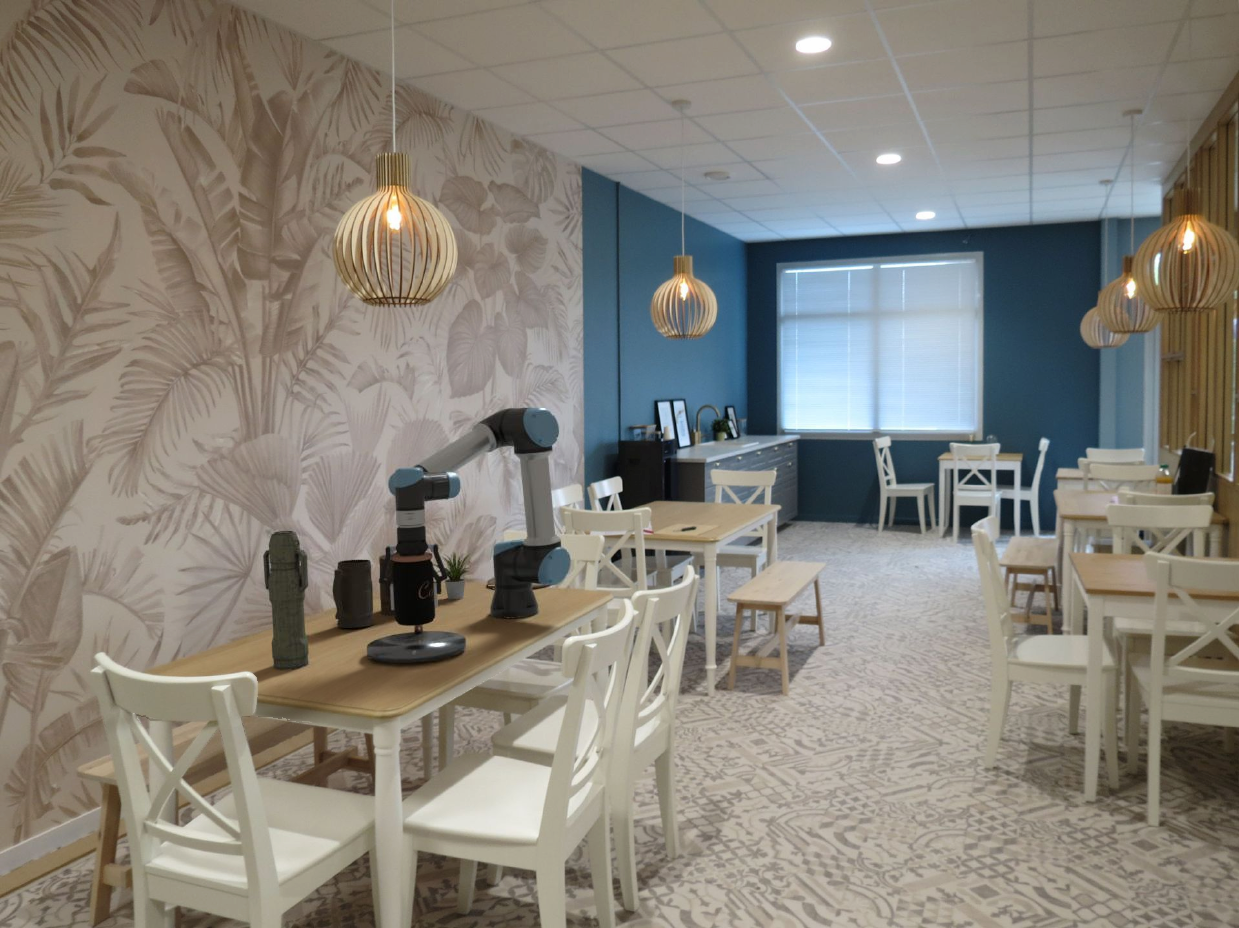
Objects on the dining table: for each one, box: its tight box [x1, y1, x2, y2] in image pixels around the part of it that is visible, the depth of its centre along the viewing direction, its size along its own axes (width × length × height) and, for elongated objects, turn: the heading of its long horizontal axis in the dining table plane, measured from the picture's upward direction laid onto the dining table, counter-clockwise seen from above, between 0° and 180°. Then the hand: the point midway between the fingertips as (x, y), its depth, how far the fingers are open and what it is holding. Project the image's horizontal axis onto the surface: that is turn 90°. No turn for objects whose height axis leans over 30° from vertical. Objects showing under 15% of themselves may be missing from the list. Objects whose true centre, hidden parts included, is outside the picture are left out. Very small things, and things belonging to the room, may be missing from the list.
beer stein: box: [332, 559, 374, 629], centre depth 298 cm, size 15×11×20 cm
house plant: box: [433, 552, 475, 601], centre depth 339 cm, size 14×14×16 cm
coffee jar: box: [392, 551, 436, 627], centre depth 263 cm, size 11×11×18 cm
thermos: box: [262, 530, 309, 671], centre depth 255 cm, size 9×12×35 cm
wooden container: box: [378, 551, 399, 616], centre depth 319 cm, size 15×15×22 cm
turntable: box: [366, 625, 467, 664], centre depth 264 cm, size 26×26×7 cm
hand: (414, 607), depth 263 cm, fingers closed on coffee jar, 11 cm apart
